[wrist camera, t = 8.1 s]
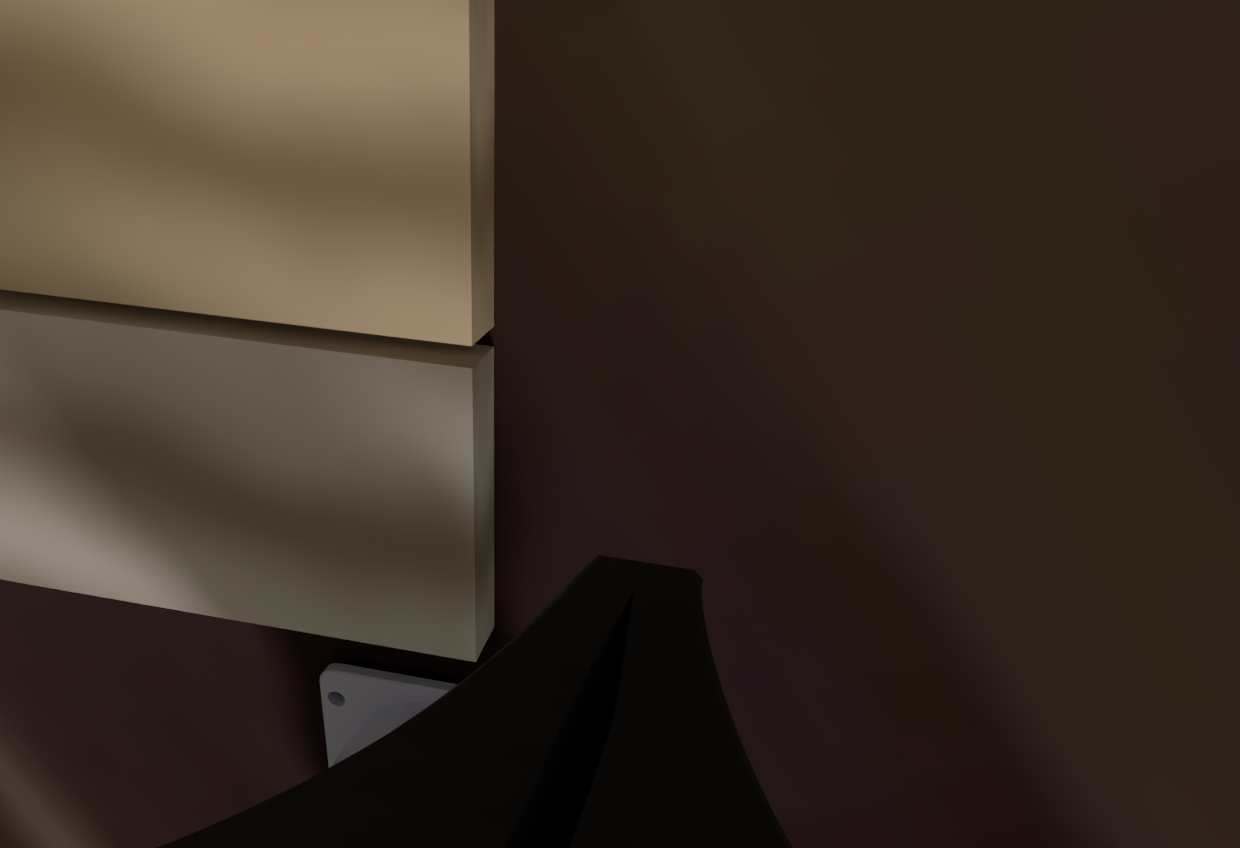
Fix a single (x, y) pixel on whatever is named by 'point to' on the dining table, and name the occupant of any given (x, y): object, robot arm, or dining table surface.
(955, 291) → the dining table surface
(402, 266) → the oak plank
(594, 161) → the dining table surface
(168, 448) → the laid plank
